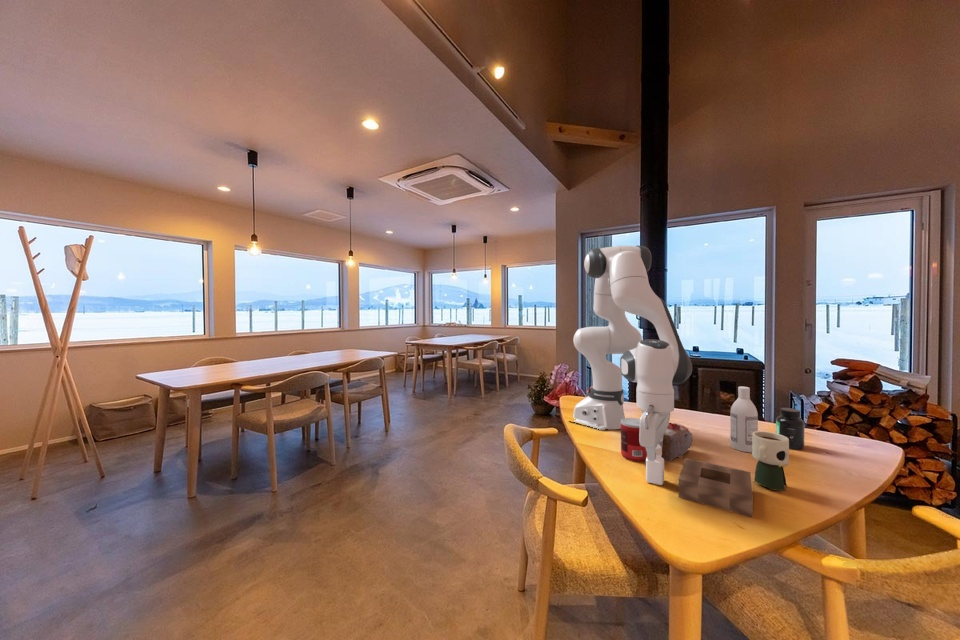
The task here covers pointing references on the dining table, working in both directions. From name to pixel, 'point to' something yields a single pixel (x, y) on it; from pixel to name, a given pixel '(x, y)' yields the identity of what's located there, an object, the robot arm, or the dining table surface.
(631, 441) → the canned food
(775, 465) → the character mug
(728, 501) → the socket
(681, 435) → the food item
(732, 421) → the bath foam
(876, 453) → the dining table surface
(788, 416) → the supplement bottle
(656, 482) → the pepper shaker
